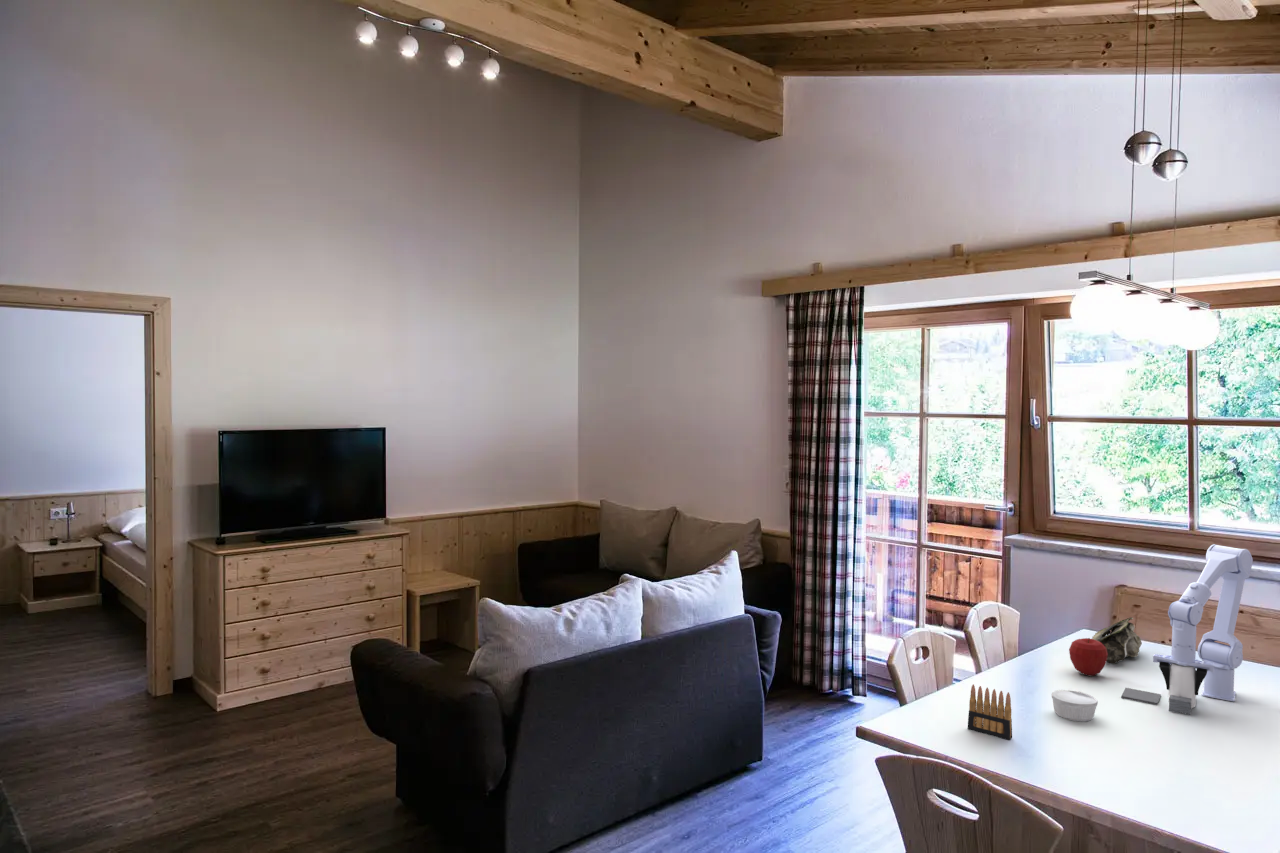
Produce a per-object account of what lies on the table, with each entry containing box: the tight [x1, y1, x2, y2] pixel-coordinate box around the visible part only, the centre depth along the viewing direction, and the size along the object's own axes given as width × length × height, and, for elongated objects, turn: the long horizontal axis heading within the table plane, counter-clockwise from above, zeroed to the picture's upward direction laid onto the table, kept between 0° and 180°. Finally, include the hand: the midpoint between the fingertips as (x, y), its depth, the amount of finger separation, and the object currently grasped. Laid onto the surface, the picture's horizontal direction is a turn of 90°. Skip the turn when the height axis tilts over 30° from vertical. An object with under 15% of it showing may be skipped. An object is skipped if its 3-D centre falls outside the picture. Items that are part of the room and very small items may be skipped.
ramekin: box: [1051, 689, 1099, 722], centre depth 229 cm, size 11×11×5 cm
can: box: [1168, 663, 1197, 710], centre depth 237 cm, size 6×6×12 cm
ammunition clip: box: [967, 684, 1013, 741], centre depth 216 cm, size 11×2×12 cm, turn 50°
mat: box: [1120, 687, 1162, 706], centre depth 244 cm, size 9×9×1 cm
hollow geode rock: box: [1091, 617, 1142, 665], centre depth 281 cm, size 28×13×15 cm
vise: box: [1168, 695, 1192, 716], centre depth 238 cm, size 17×5×4 cm, turn 143°
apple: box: [1068, 637, 1108, 677], centre depth 263 cm, size 11×11×12 cm
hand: (1182, 691), depth 237 cm, fingers open, 6 cm apart
